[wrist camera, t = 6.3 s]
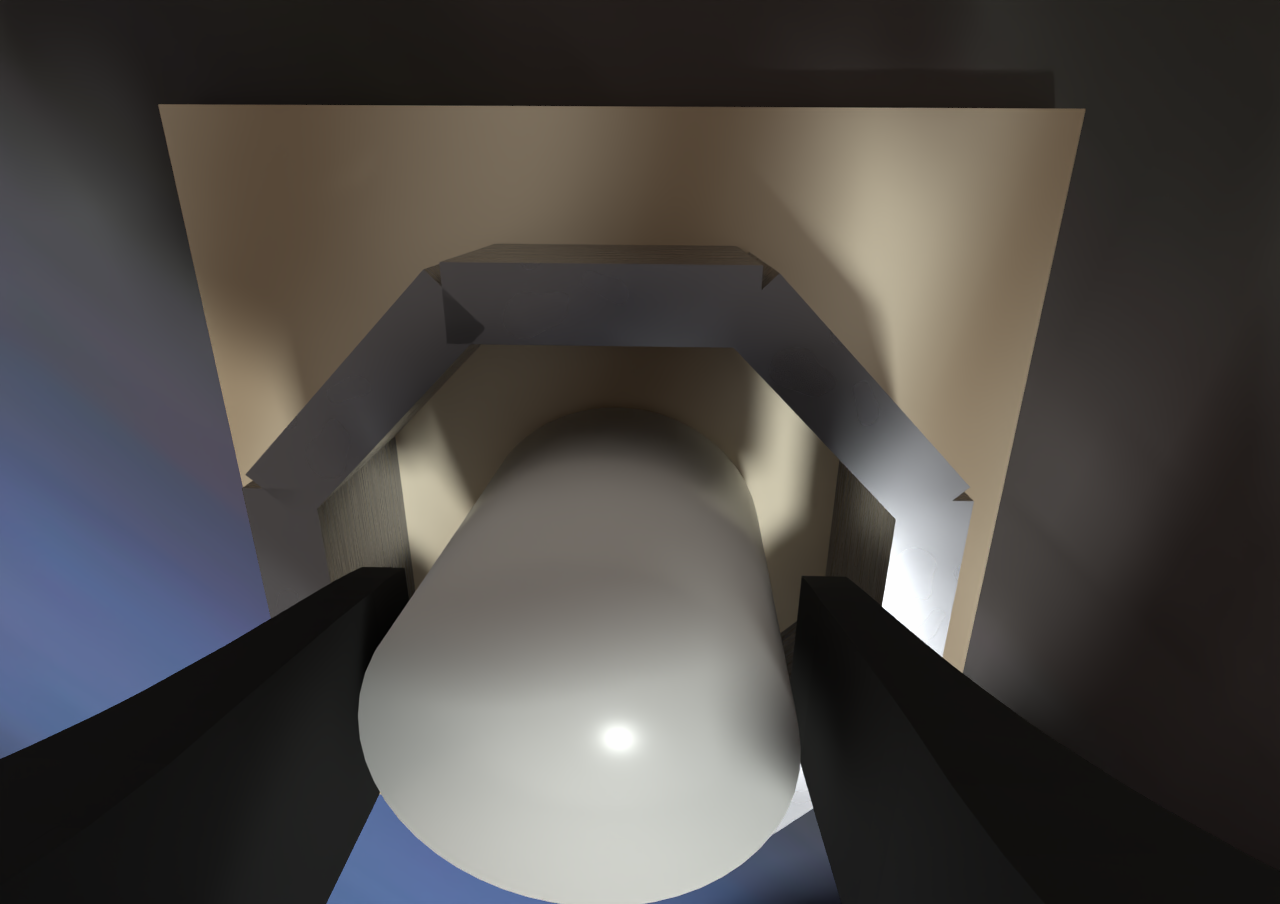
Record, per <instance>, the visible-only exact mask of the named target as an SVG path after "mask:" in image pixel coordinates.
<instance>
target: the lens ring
mask: <svg viewBox="0 0 1280 904" xmlns="http://www.w3.org/2000/svg"><path fill="white" fill-rule="evenodd" d="M481 344H484V345H562V346H641V347H719V348H734V349H735V350H736V351H737V352H738V353H739V354H740V355H741V356H742V357H743V358H744V359H745V360H746V361H747V363H748V364H749V365H750V366H751V367H752V368H753V369H754V370H755V371H756V372H757V373H758V374H759V375H760V376H761V377H762V378H763V379H764V380H765V382H766V383H767V384H768V385H769V386H770V387H771V388H772V389H773V390H774V391H775V392H776V393H777V394H778V395H779V396H780V397H781V398H782V400H783V401H784V402H785V403H786V404H787V405H788V406H789V407H790V408H791V409H792V410H793V411H794V412H795V413H796V414H797V415H798V416H799V418H800V419H801V420H802V421H803V422H804V423H805V424H806V425H807V426H808V427H809V428H810V429H811V430H812V431H813V432H814V433H815V434H816V435H817V437H818V438H819V439H820V440H821V441H822V442H823V443H824V444H825V445H826V446H827V447H828V448H829V449H830V450H831V451H832V452H833V453H834V455H835V456H836V457H837V458H838V459H839V467H838V475H837V483H836V492H835V500H834V508H833V516H832V525H831V533H830V541H829V549H828V558H827V566H826V574H825V576H839V577H847V578H849V579H850V580H851V581H853V582H854V583H855V584H856V585H858V586H859V587H860V588H861V589H862V590H864V591H865V592H866V593H867V594H868V595H869V596H871V597H872V598H873V599H874V600H875V601H876V602H878V603H879V604H880V605H881V606H882V607H883V608H885V609H886V610H887V611H888V612H889V613H890V614H892V615H893V616H894V617H895V618H896V619H897V620H899V621H900V622H901V623H902V624H903V625H904V626H906V627H907V628H908V629H909V630H910V631H911V632H913V633H914V634H915V635H916V636H917V637H919V638H920V639H921V640H922V641H923V642H924V643H926V644H927V645H928V646H929V647H931V648H932V649H933V650H934V651H935V652H937V653H938V654H939V655H940V656H942V657H943V652H944V647H945V642H946V637H947V632H948V627H949V622H950V617H951V612H952V607H953V602H954V597H955V593H956V588H957V583H958V578H959V573H960V568H961V563H962V558H963V553H964V548H965V543H966V538H967V533H968V528H969V524H970V519H971V514H972V509H973V504H974V501H973V500H972V499H971V498H970V497H969V496H968V495H967V494H966V493H965V491H966V490H967V489H969V488H970V486H969V485H968V484H967V483H966V482H965V481H964V480H963V479H962V477H961V476H960V475H959V474H958V473H957V472H956V471H955V470H954V468H953V467H952V466H951V465H950V464H949V463H948V462H947V461H946V459H945V458H944V457H943V456H942V455H941V454H940V453H939V452H938V450H937V449H936V448H935V447H934V446H933V445H932V444H931V443H930V441H929V440H928V439H927V438H926V437H925V436H924V435H923V434H922V432H921V431H920V430H919V429H918V428H917V427H916V426H915V425H914V423H913V422H912V421H911V420H910V419H909V418H908V417H907V416H906V414H905V413H904V412H903V411H902V410H901V409H900V408H899V407H898V405H897V404H896V403H895V402H894V401H893V400H892V399H891V398H890V396H889V395H888V394H887V393H886V392H885V391H884V390H883V389H882V387H881V386H880V385H879V384H878V383H877V382H876V381H875V380H874V378H873V377H872V376H871V375H870V374H869V373H868V372H867V371H866V369H865V368H864V367H863V366H862V365H861V364H860V363H859V362H858V361H857V359H856V358H855V357H854V356H853V355H852V354H851V353H850V352H849V350H848V349H847V348H846V347H845V346H844V345H843V344H842V343H841V341H840V340H839V339H838V338H837V337H836V336H835V335H834V334H833V332H832V331H831V330H830V329H829V328H828V327H827V326H826V325H825V323H824V322H823V321H822V320H821V319H820V318H819V317H818V316H817V314H816V313H815V312H814V311H813V310H812V309H811V308H810V307H809V305H808V304H807V303H806V302H805V301H804V300H803V299H802V298H801V296H800V295H799V294H798V293H797V292H796V291H795V290H794V289H793V287H792V286H791V285H790V284H789V283H788V282H787V281H786V280H785V278H784V277H783V276H782V275H781V274H780V273H779V272H777V271H776V270H775V269H773V268H772V267H770V266H769V265H767V264H766V263H765V262H763V261H762V260H760V259H759V258H757V257H756V256H755V255H753V254H752V253H750V252H748V253H746V252H744V251H743V250H742V249H740V248H739V247H737V246H693V245H587V244H493V245H490V246H487V247H484V248H481V249H478V250H475V251H471V252H468V253H465V254H462V255H459V256H456V257H453V258H450V259H447V260H444V261H441V262H439V264H438V265H435V266H432V267H429V268H426V269H423V270H422V271H421V273H420V274H419V275H418V276H417V277H416V278H415V280H414V281H413V282H412V283H411V284H410V285H409V286H408V288H407V289H406V290H405V291H404V292H403V293H402V295H401V296H400V297H399V298H398V299H397V300H396V301H395V303H394V304H393V305H392V306H391V307H390V308H389V309H388V311H387V312H386V313H385V314H384V315H383V316H382V318H381V319H380V320H379V321H378V322H377V323H376V324H375V326H374V327H373V328H372V329H371V330H370V331H369V333H368V334H367V335H366V336H365V337H364V338H363V339H362V341H361V342H360V343H359V344H358V345H357V346H356V348H355V349H354V350H353V351H352V352H351V353H350V354H349V356H348V357H347V358H346V359H345V360H344V361H343V362H342V364H341V365H340V366H339V367H338V368H337V369H336V371H335V372H334V373H333V374H332V375H331V376H330V377H329V379H328V380H327V381H326V382H325V383H324V384H323V386H322V387H321V388H320V389H319V390H318V391H317V392H316V394H315V395H314V396H313V397H312V398H311V399H310V401H309V402H308V403H307V404H306V405H305V406H304V407H303V409H302V410H301V411H300V412H299V413H298V414H297V416H296V417H295V418H294V419H293V420H292V421H291V422H290V424H289V425H288V426H287V427H286V428H285V429H284V430H283V432H282V433H281V434H280V435H279V436H278V437H277V439H276V440H275V441H274V442H273V443H272V444H271V445H270V447H269V448H268V449H267V450H266V451H265V452H264V454H263V455H262V456H261V457H260V458H259V459H258V460H257V462H256V463H255V464H254V465H253V466H252V467H251V469H250V470H249V471H248V472H247V473H246V474H245V475H246V476H247V477H249V478H250V479H251V480H253V481H251V482H250V483H248V484H247V485H246V486H244V487H243V488H242V491H243V495H244V500H245V504H246V509H247V513H248V518H249V522H250V527H251V531H252V536H253V540H254V545H255V549H256V554H257V558H258V563H259V567H260V572H261V576H262V580H263V585H264V589H265V594H266V598H267V603H268V607H269V612H270V616H271V618H273V617H274V616H276V615H278V614H279V613H281V612H283V611H285V610H286V609H288V608H290V607H291V606H293V605H295V604H296V603H298V602H300V601H301V600H303V599H305V598H306V597H308V596H310V595H311V594H313V593H315V592H316V591H318V590H320V589H321V588H323V587H325V586H327V585H328V584H330V583H332V582H333V581H335V580H337V579H339V578H341V577H342V576H344V575H346V574H348V573H350V572H352V571H354V570H356V569H358V568H361V567H397V568H405V574H406V581H407V588H408V596H409V600H410V599H411V597H412V596H413V594H414V593H415V584H414V577H413V569H412V561H411V554H410V546H409V538H408V531H407V523H406V515H405V508H404V500H403V492H402V485H401V477H400V469H399V462H398V454H397V446H396V439H395V436H396V435H397V434H398V433H399V431H400V430H401V429H402V428H403V427H404V426H405V425H406V424H407V423H408V422H409V421H410V420H411V419H412V418H413V417H414V416H415V414H416V413H417V412H418V411H419V410H420V409H421V408H422V407H423V406H424V405H425V404H426V403H427V402H428V401H429V400H430V398H431V397H432V396H433V395H434V394H435V393H436V392H437V391H438V390H439V389H440V388H441V387H442V386H443V385H444V384H445V382H446V381H447V380H448V379H449V378H450V377H451V376H452V375H453V374H454V373H455V372H456V371H457V370H458V369H459V368H460V367H461V365H462V364H463V363H464V362H465V361H466V360H467V359H468V358H469V357H470V356H471V355H472V354H473V353H474V352H475V351H476V349H477V348H478V347H479V346H480V345H481ZM796 625H797V621H796V622H795V623H793V624H792V625H791V626H789V627H788V628H787V629H785V630H784V631H783V632H781V633H780V634H781V639H782V644H783V649H784V654H785V659H786V664H787V670H788V675H789V680H790V681H791V671H792V662H793V653H794V643H795V634H796ZM811 809H813V805H812V802H811V798H810V795H809V792H808V788H807V785H806V781H805V778H804V774H803V771H802V767H801V764H800V772H799V776H798V780H797V785H796V789H795V793H794V795H793V798H792V800H791V802H790V805H789V807H788V809H787V812H786V814H785V815H784V817H783V819H782V820H781V822H780V823H779V825H778V827H777V828H776V830H775V831H774V833H776V832H777V831H779V830H780V829H782V828H783V827H785V826H787V825H788V824H790V823H791V822H793V821H794V820H796V819H797V818H799V817H800V816H802V815H804V814H805V813H807V812H808V811H810V810H811ZM774 833H773V834H774ZM773 834H772V835H773Z"/></svg>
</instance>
